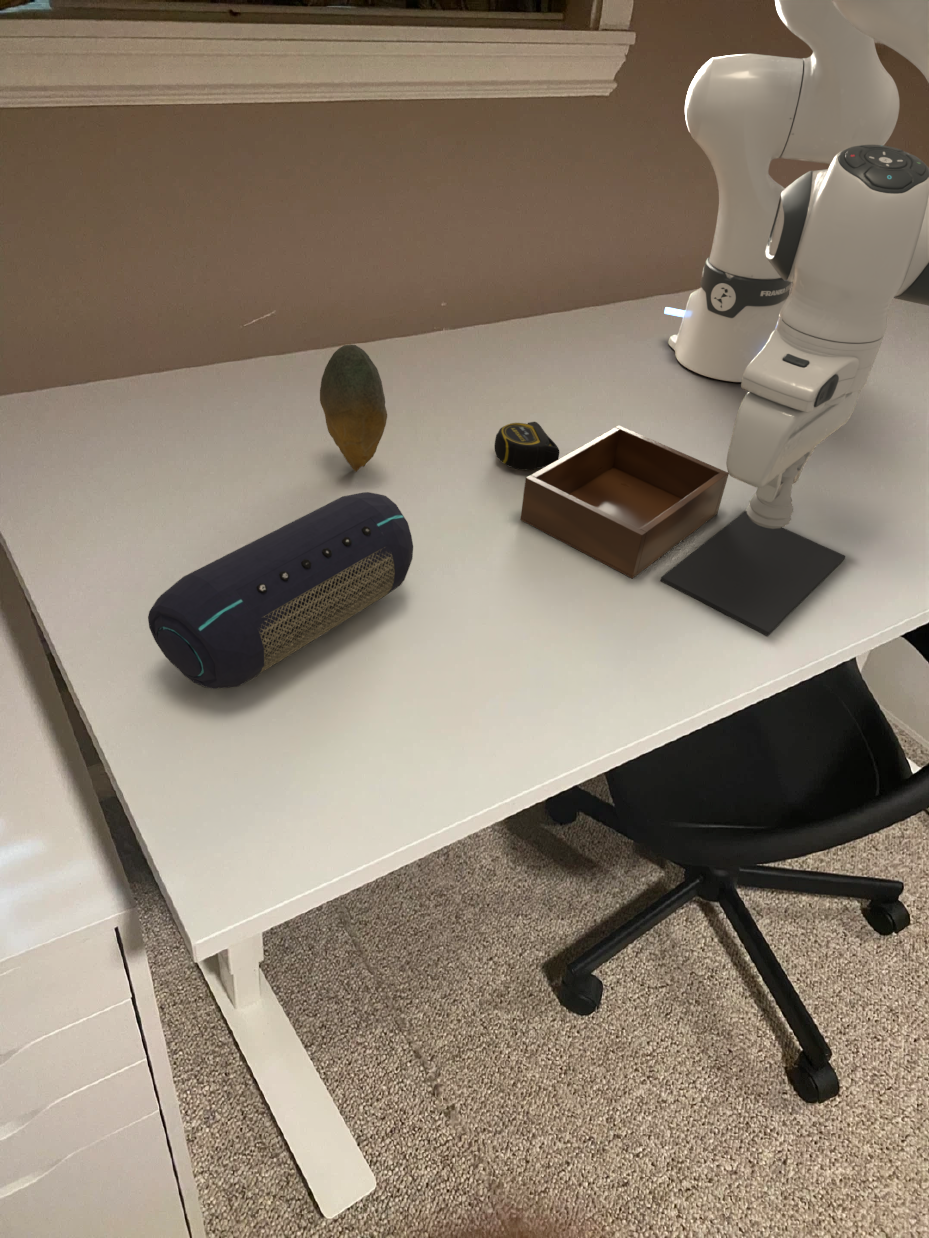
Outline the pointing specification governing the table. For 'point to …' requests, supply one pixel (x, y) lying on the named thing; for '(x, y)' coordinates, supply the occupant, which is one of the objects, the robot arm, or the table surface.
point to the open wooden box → (623, 499)
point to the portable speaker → (282, 590)
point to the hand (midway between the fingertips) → (776, 489)
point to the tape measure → (525, 446)
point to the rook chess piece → (775, 503)
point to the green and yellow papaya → (353, 404)
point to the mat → (754, 572)
